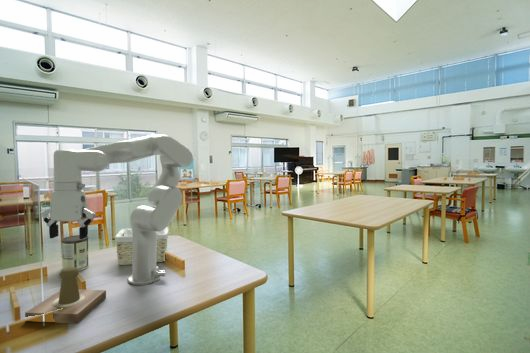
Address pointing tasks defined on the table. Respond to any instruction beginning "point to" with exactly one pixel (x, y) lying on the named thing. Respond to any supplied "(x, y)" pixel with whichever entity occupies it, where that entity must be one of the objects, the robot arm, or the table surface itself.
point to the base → (69, 306)
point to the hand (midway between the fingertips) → (68, 237)
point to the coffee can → (75, 252)
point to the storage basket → (126, 241)
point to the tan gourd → (69, 286)
